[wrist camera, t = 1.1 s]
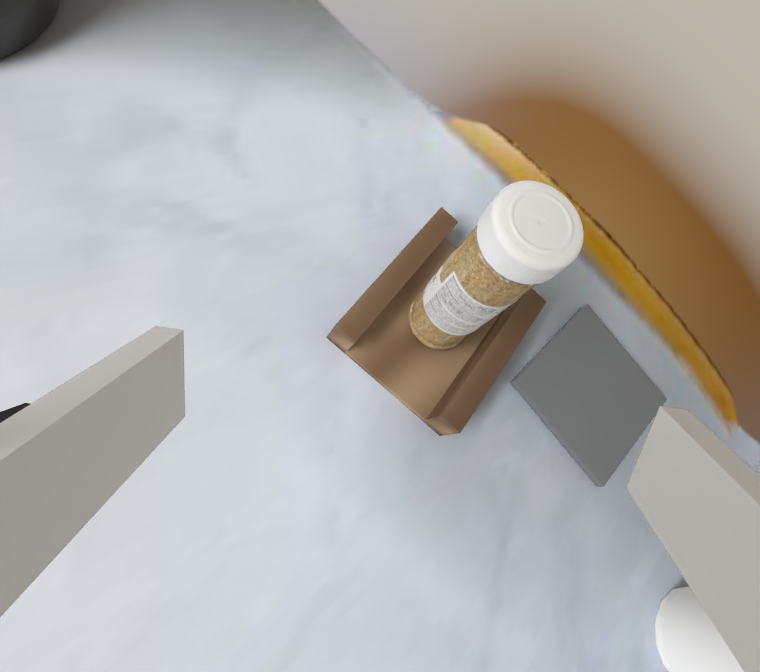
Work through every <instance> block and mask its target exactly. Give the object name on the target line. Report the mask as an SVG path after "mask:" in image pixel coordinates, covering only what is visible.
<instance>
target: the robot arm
mask: <svg viewBox="0 0 760 672" xmlns="http://www.w3.org/2000/svg"><path fill="white" fill-rule="evenodd" d="M58 4H59V0H0V58H2V57H5V56H7V55H9V54H11V53H14V52H15V51H17V50H19V49H21V48H23V47H24V46H26V45H27V44H29V43H30V42H31V41H33V40H34V39H35V38H36V37H38V36H39V35H40V34H41V33H42V32H43V31H44V29H45V28H46V27H47V26H48V24H49V23H50V22H51V20H52V18H53V17H54V14H55V12H56V10H57V7H58ZM184 417H185V389H184V340H183V330H178V329H172V328H166V327H159V326H155V327H154V328H152V329H151V330H149V331H147V332H146V333H144V334H143V335H141V336H139V337H138V338H136V339H134V340H133V341H131V342H130V343H128V344H126V345H125V346H123V347H122V348H120V349H118V350H117V351H115V352H114V353H112V354H110V355H109V356H107V357H106V358H104V359H102V360H101V361H99V362H98V363H96V364H94V365H93V366H91V367H90V368H88V369H86V370H85V371H83V372H81V373H80V374H78V375H77V376H75V377H73V378H72V379H70V380H69V381H67V382H65V383H64V384H62V385H61V386H59V387H57V388H56V389H54V390H53V391H51V392H49V393H48V394H46V395H45V396H43V397H41V398H40V399H38V400H37V401H35V402H33V403H32V404H29V403H24V404H21V405H19V406H16V407H13V408H10V409H8V410H5V411H2V412H0V617H1V616H2V615H3V614H4V613H5V611H6V610H7V609H8V608H9V607H10V606H11V605H12V604H13V603H14V602H15V601H16V600H17V598H18V597H19V596H20V595H21V594H22V593H23V592H24V591H25V590H26V589H27V588H28V586H29V585H30V584H31V583H32V582H33V581H34V580H35V579H36V578H37V577H38V576H39V574H40V573H41V572H42V571H43V570H44V569H45V568H46V567H47V566H48V565H49V564H50V563H51V561H52V560H53V559H54V558H55V557H56V556H57V555H58V554H59V553H60V552H61V551H62V549H63V548H64V547H65V546H66V545H67V544H68V543H69V542H70V541H71V540H72V539H73V538H74V536H75V535H76V534H77V533H78V532H79V531H80V530H81V529H82V528H83V527H84V526H85V524H86V523H87V522H88V521H89V520H90V519H91V518H92V517H93V516H94V515H95V514H96V513H97V511H98V510H99V509H100V508H101V507H102V506H103V505H104V504H105V503H106V502H107V501H108V499H109V498H110V497H111V496H112V495H113V494H114V493H115V492H116V491H117V490H118V489H119V487H120V486H121V485H122V484H123V483H124V482H125V481H126V480H127V479H128V478H129V477H130V476H131V474H132V473H133V472H134V471H135V470H136V469H137V468H138V467H139V466H140V465H141V464H142V462H143V461H144V460H145V459H146V458H147V457H148V456H149V455H150V454H151V453H152V452H153V451H154V449H155V448H156V447H157V446H158V445H159V444H160V443H161V442H162V441H163V440H164V439H165V437H166V436H167V435H168V434H169V433H170V432H171V431H172V430H173V429H174V428H175V427H176V426H177V424H178V423H179V422H180V421H181V420H182V419H183V418H184ZM626 488H627V490H628V491H629V493H630V495H631V496H632V498H633V499H634V501H635V502H636V504H637V505H638V507H639V509H640V510H641V512H642V513H643V515H644V516H645V518H646V520H647V521H648V523H649V524H650V526H651V527H652V529H653V530H654V532H655V534H656V535H657V537H658V538H659V540H660V541H661V543H662V544H663V546H664V548H665V549H666V551H667V552H668V554H669V555H670V557H671V558H672V560H673V562H674V563H675V565H676V566H677V568H678V569H679V571H680V573H681V574H682V576H683V577H684V579H685V580H686V582H687V583H688V585H689V587H690V588H691V590H692V591H693V593H694V594H695V596H696V597H697V599H698V601H699V602H700V604H701V605H702V607H703V608H704V610H705V611H706V613H707V615H708V616H709V618H710V619H711V621H712V622H713V624H714V626H715V627H716V629H717V630H718V632H719V633H720V635H721V636H722V638H723V640H724V641H725V643H726V644H727V646H728V647H729V649H730V650H731V652H732V654H733V655H734V657H735V658H736V660H737V661H738V663H739V664H740V666H741V668H742V669H743V671H744V672H760V475H759V474H758V473H757V472H756V471H755V470H754V469H753V468H751V467H750V466H749V465H748V464H747V463H746V462H745V461H744V460H743V459H742V458H740V457H739V456H738V455H737V454H736V453H735V452H734V451H733V450H732V449H731V448H730V447H728V446H727V445H726V444H725V443H724V442H723V441H722V440H721V439H720V438H719V437H717V436H716V435H715V434H714V433H713V432H712V431H711V430H710V429H709V428H708V427H707V426H705V425H704V424H703V423H702V422H701V421H700V420H699V419H698V418H697V417H696V416H694V415H693V414H692V413H691V412H690V411H689V410H684V409H678V408H672V407H665V406H660V407H659V410H658V412H657V414H656V417H655V419H654V422H653V424H652V427H651V429H650V431H649V434H648V436H647V439H646V441H645V444H644V446H643V448H642V451H641V453H640V456H639V458H638V461H637V463H636V465H635V468H634V470H633V473H632V475H631V478H630V480H629V482H628V485H627V487H626Z"/></svg>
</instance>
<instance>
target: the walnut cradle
mask: <svg viewBox="0 0 760 672" xmlns="http://www.w3.org/2000/svg"><path fill="white" fill-rule="evenodd" d="M457 223H458V221H456V220H455V219H454V218H453V217H452V216H451V215H450V214H449V213H448V212H446V211H445V210H444V209H443V208H442V207H441V208H440V209H439V210H438V211H437V213H436V214H435V215H434V216H433V217H432V218H431V219H430V220H429V222H428V223H427V224H426V225H425V226H424V227H423V228H422V229H421V230H420V232H419V233H418V234H417V235H416V236H415V237H414V238H413V239H412V240H411V242H410V243H409V244H408V245H407V246H406V247H405V248H404V249H403V250H402V252H401V253H400V254H399V255H398V256H397V257H396V258H395V259H394V261H393V262H392V263H391V264H390V265H389V266H388V267H387V268H386V269H385V271H384V272H383V273H382V274H381V275H380V276H379V277H378V278H377V279H376V281H375V282H374V283H373V284H372V285H371V286H370V287H369V288H368V289H367V291H366V292H365V293H364V294H363V295H362V296H361V297H360V298H359V300H358V301H357V302H356V303H355V304H354V305H353V306H352V307H351V308H350V310H349V311H348V312H347V313H346V314H345V315H344V316H343V317H342V318H341V320H340V321H339V322H338V323H337V324H336V325H335V327H334V328H333V329H332V331H331V332H330V333H329V335H328V336H327V338H328V339H329V340H330V341H331V342H332V343H334V344H335V345H336V346H337V347H338V348H339V349H340V350H342V351H343V352H344V353H345V354H346V355H347V356H349V357H350V358H351V359H352V360H353V361H354V362H355V363H357V364H358V365H359V366H360V367H361V368H362V369H364V370H365V371H366V372H367V373H368V374H369V375H371V376H372V377H373V378H374V379H375V380H376V381H377V382H379V383H380V384H381V385H382V386H383V387H384V388H386V389H387V390H388V391H389V392H390V393H391V394H392V395H394V396H395V397H396V398H397V399H398V400H399V401H401V402H402V403H403V404H404V405H405V406H406V407H407V408H409V409H410V410H411V411H412V412H413V413H414V414H416V415H417V416H418V417H419V418H420V419H421V420H422V421H424V422H425V423H426V424H427V425H428V426H429V427H431V428H432V429H433V430H434V431H435V432H436V433H437V434H439V435H440V436H441V435H448V434H455V433H460V432H461V431H462V429H463V428H464V426H465V425H466V423H467V422H468V420H469V419H470V417H471V416H472V414H473V413H474V411H475V410H476V408H477V406H478V405H479V403H480V402H481V400H482V399H483V397H484V396H485V394H486V393H487V391H488V390H489V388H490V387H491V385H492V384H493V382H494V381H495V379H496V378H497V376H498V375H499V373H500V371H501V370H502V368H503V367H504V365H505V364H506V362H507V361H508V359H509V358H510V356H511V355H512V353H513V352H514V350H515V349H516V347H517V346H518V344H519V343H520V341H521V340H522V338H523V337H524V335H525V333H526V332H527V330H528V329H529V327H530V326H531V324H532V323H533V321H534V320H535V318H536V317H537V315H538V314H539V312H540V311H541V309H542V308H543V306H544V305H545V303H546V301H545V300H544V299H543V298H542V297H540V296H539V295H538V294H537V293H536V292H535V291H534V290H533V289H532V288H531V289H530V290H528V291H527V292H526V293H524V294H523V295H521V297H520V298H519V299H518V300H517V301H516V302H514V303H513V304H512V305H510V306H509V307H507V308H506V309H505V310H503V311H502V312H501V313H499V314H498V315H496V316H495V317H494V318H492V319H491V320H489V321H488V322H487V323H485V324H484V325H483V326H481V327H480V328H478V329H477V330H476V331H474V332H472V333H470V334H468V335H467V336H465V338H464V339H463V340H462V341H461V342H460V343H459V344H458V345H456V346H455V347H452V348H449V349H432V348H431V347H428V346H426V345H425V344H423V343H422V342H421V341H420V340H419V339H418V338H417V337H416V336H415V335H414V334H413V332H412V329H411V327H410V323H409V309H410V306H411V304H412V302H413V300H414V299H415V298H416V297H417V296H418V295H419V294H420V293H421V292H422V291H423V290H424V289H425V288H426V286H427V284H428V283H429V281H430V280H431V279H432V278H433V276H434V275H435V274H436V273H437V272H438V270H439V269H440V268H441V267H442V265H443V264H444V263H445V262H446V261H447V260H448V258H449V257H450V256H451V254H452V253H453V252H454V251H455V250H456V248H455V247H454V246H453V245H452V244H450V243H449V242H448V241H447V240H446V239H445V237H446V236H447V235H448V233H449V232H450V231H451V230H452V229H453V228H454V226H455V225H456V224H457Z"/></svg>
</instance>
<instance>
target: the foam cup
mask: <svg viewBox="0 0 760 672" xmlns="http://www.w3.org/2000/svg"><path fill="white" fill-rule="evenodd" d="M655 635H656V645H657V648H658V651H659V654H660V657H661V659H662V662H663V665H664V666H665V667H666V669H667V670H668V671H669V672H744V671H743V669H742V668H741V666H740V664H739V663H738V661H737V660H736V658H735V657H734V655H733V654H732V652H731V650H730V649H729V647H728V646H727V644H726V643H725V641H724V640H723V638H722V636H721V635H720V633H719V632H718V630H717V629H716V627H715V626H714V624H713V622H712V621H711V619H710V618H709V616H708V615H707V613H706V611H705V610H704V608H703V607H702V605H701V604H700V602H699V601H698V599H697V597H696V596H695V594H694V593H693V591H692V590H691V588H690V587H688V586H686V587H681V588H676V589H672V590H671V591H670V592H669V593H668V594H667V596H666V597H665V598H664V599H663V600H662V601H661V603H660V606H659V609H658V613H657V616H656V619H655Z"/></svg>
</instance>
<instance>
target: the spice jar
mask: <svg viewBox="0 0 760 672" xmlns="http://www.w3.org/2000/svg"><path fill="white" fill-rule="evenodd" d="M583 239H584V232H583V226H582V222H581V219H580V216H579V214H578V212H577V210H576V209H575V207H574V206H573V204H572V203H571V202H570V201H569V199H568V198H567V197H565V196H564V195H563V194H562V193H561V192H559V191H558V190H557V189H555V188H553V187H552V186H549V185H547V184H545V183H541V182H537V181H529V180H525V181H517V182H514V183H512V184H509V185H508V186H506V187H505V188H503V189H502V190H501V191H500V192H499V193H498V194H497V195H496V196H495V198H494V199H493V200H492V201H491V202H490V204H489V205H488V206H487V207H486V209H485V210H484V211H483V213H482V214H481V216H480V218H479V221H478V225H477V226H476V227H475V229H474V230H473V231H472V232H471V233H470V234H469V236H468V237H467V238H466V239H465V240H464V242H463V243H462V244H461V245H460V246H459V247H458V248H457V249H456V250H455V251H454V252H453V253H452V254H451V256H450V257H449V258H448V260H447V261H446V262H445V263H444V264H443V265H442V267H441V268H440V269H439V270H438V272H437V273H436V274H435V275H434V276H433V278H432V279H431V280H430V281H429V283H428V284H427V286H426V288H425V289H424V290H423V291H422V292H421V293H420V294H419V295H418V296H417V297H416V298H415V299H414V300H413V302H412V304H411V306H410V309H409V323H410V327H411V329H412V332H413V334H414V335H415V336H416V337H417V338H418V339H419V340H420V341H421V342H422V343H423V344H425V345H426V346H428V347H431V348H432V349H449V348H452V347H455V346H456V345H458V344H459V343H460V342H461V341H462V340H463V339H464V338H465V336H467V335H468V334H470V333H472V332H474V331H476V330H477V329H478V328H480V327H481V326H483V325H484V324H485V323H487V322H488V321H489V320H491V319H492V318H494V317H495V316H496V315H498V314H499V313H501V312H502V311H503V310H505V309H506V308H507V307H509V306H510V305H512V304H513V303H514V302H516V301H517V300H518V299H519V298H520V297H521V295H523V294H524V293H526V292H527V291H528V290H530V289H531V288H533V287H534V286H535V285H538V284H540V283H543V282H546V281H548V280H550V279H551V278H553V277H554V276H556V275H557V274H558V273H560V272H561V271H562V270H563V269H565V268H566V267H567V266H568V265H570V264H571V263H572V262H573V261H574V260H575V259H576V257H577V256H578V254H579V253H580V251H581V248H582V245H583Z"/></svg>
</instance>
